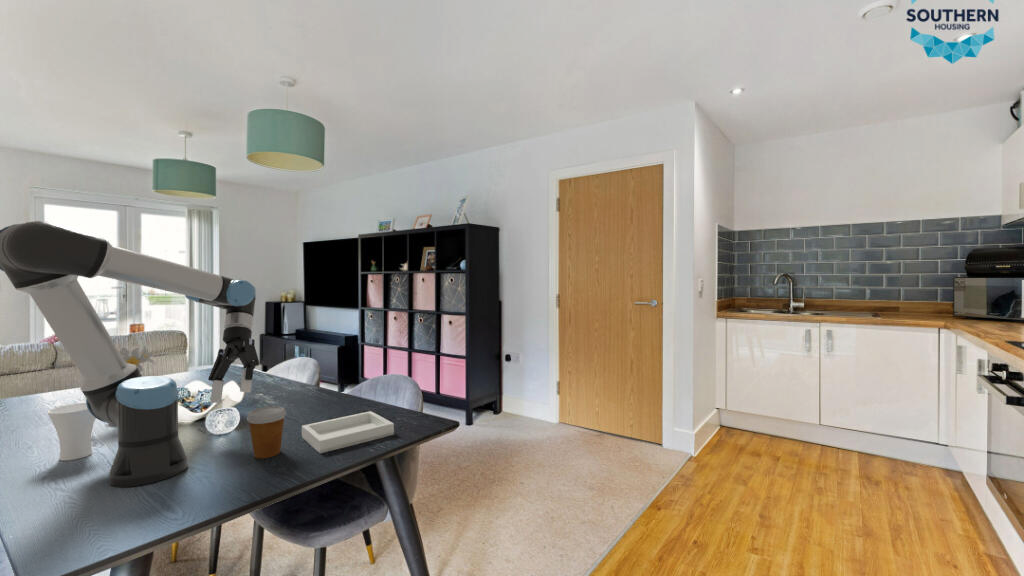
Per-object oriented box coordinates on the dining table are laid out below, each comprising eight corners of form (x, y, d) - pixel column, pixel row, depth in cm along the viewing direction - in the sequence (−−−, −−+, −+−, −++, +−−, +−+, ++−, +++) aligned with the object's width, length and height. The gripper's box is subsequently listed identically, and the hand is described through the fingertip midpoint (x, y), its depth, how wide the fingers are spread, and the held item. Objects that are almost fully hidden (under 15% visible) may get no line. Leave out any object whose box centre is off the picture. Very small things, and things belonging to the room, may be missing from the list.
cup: (51, 455, 123) (50, 407, 123) (103, 446, 130) (101, 400, 129) (45, 467, 115) (43, 415, 115) (100, 456, 122) (99, 407, 121)
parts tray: (320, 453, 123) (319, 440, 123) (301, 437, 136) (301, 425, 136) (393, 434, 137) (393, 423, 137) (371, 421, 150) (370, 411, 150)
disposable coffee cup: (275, 461, 118) (274, 416, 118) (239, 461, 118) (238, 416, 118) (293, 447, 127) (292, 405, 127) (260, 447, 128) (259, 406, 127)
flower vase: (80, 426, 147) (77, 351, 146) (144, 411, 164) (142, 343, 163) (102, 431, 142) (100, 353, 141) (166, 415, 159) (164, 345, 158)
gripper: (275, 321, 138) (270, 388, 129) (224, 343, 147) (216, 407, 138) (253, 314, 132) (245, 385, 123) (201, 338, 141) (190, 405, 132)
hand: (230, 397), depth 130 cm, fingers open, 13 cm apart
